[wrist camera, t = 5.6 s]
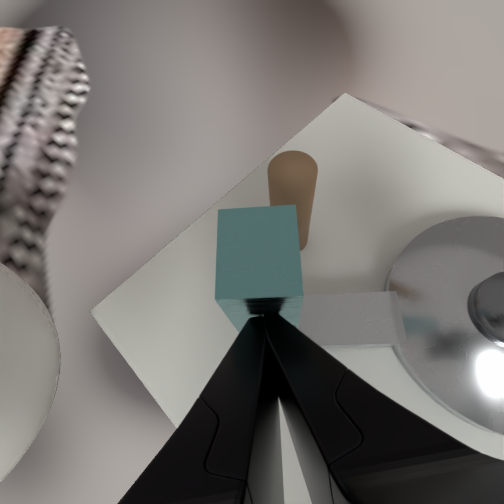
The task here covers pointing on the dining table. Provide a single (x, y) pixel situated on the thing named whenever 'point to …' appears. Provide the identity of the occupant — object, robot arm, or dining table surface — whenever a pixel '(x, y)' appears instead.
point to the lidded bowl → (24, 367)
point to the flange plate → (385, 302)
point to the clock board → (306, 260)
